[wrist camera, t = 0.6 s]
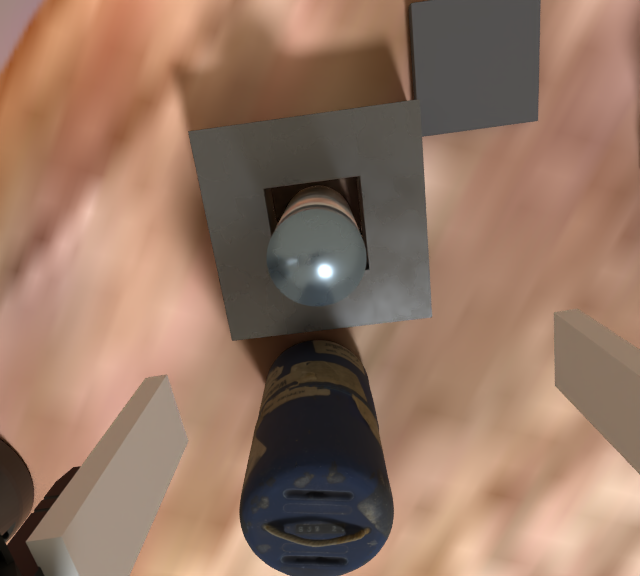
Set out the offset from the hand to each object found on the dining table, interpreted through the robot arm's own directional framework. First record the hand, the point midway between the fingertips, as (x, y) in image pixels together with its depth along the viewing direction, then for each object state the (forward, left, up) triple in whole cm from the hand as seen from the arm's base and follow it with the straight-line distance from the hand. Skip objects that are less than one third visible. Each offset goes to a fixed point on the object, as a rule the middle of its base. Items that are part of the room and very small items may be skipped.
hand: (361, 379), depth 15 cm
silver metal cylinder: (-1, +2, -24) cm, 24 cm away
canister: (-3, -13, -24) cm, 28 cm away
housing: (-1, +2, -24) cm, 24 cm away
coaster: (+12, +12, -24) cm, 29 cm away
